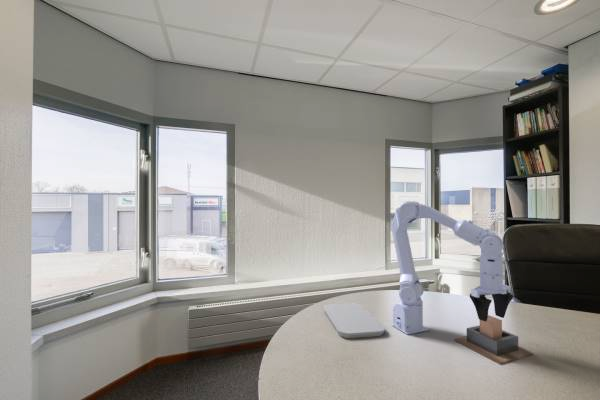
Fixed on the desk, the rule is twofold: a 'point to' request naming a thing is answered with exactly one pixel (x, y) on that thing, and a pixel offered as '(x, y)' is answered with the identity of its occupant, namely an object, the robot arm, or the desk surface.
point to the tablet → (353, 320)
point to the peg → (491, 327)
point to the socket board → (494, 345)
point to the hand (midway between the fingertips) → (491, 318)
